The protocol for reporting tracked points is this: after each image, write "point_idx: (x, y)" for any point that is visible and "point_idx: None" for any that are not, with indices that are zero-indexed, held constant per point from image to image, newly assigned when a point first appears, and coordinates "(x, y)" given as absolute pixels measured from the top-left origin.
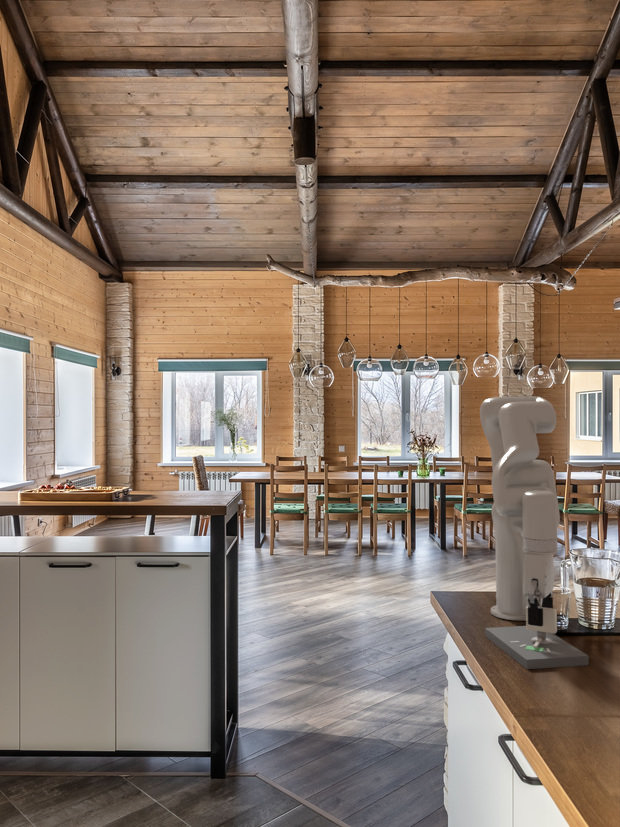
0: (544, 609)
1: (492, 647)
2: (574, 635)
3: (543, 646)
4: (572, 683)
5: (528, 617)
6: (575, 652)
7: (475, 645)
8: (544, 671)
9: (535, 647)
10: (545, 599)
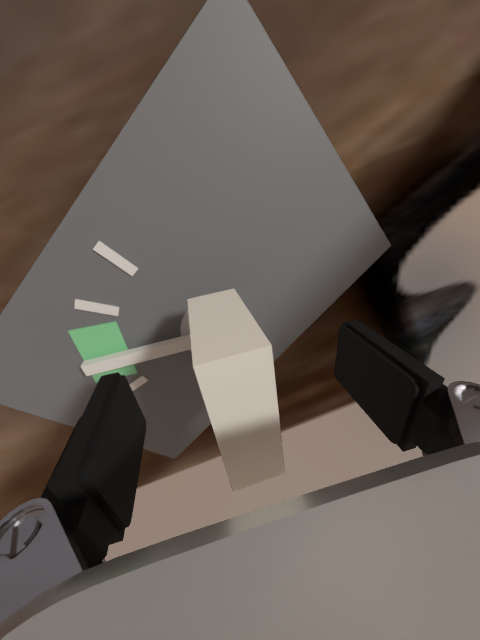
0: (234, 452)
1: (84, 138)
2: (380, 327)
3: (157, 361)
4: (17, 472)
5: (90, 406)
6: (176, 434)
7: (23, 13)
8: None
9: (86, 370)
10: (394, 412)
